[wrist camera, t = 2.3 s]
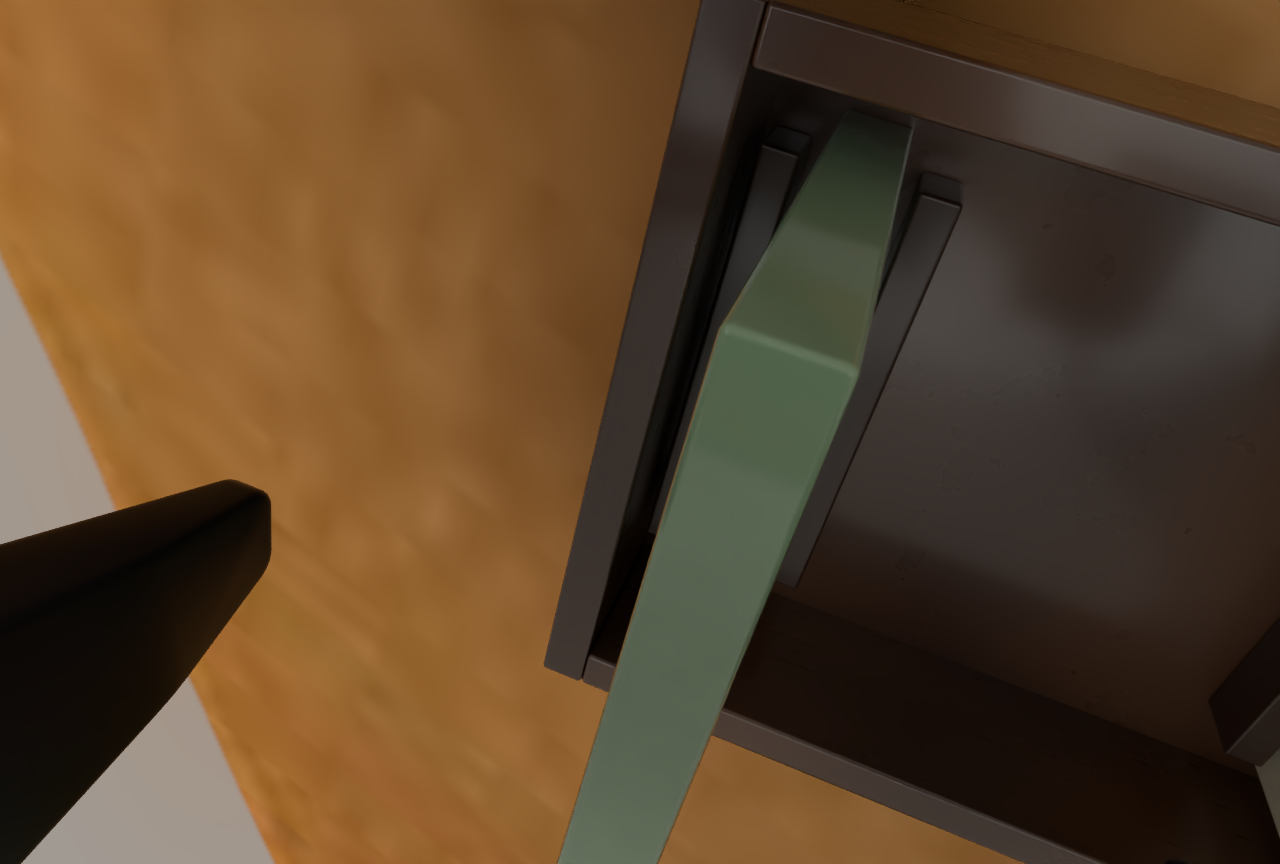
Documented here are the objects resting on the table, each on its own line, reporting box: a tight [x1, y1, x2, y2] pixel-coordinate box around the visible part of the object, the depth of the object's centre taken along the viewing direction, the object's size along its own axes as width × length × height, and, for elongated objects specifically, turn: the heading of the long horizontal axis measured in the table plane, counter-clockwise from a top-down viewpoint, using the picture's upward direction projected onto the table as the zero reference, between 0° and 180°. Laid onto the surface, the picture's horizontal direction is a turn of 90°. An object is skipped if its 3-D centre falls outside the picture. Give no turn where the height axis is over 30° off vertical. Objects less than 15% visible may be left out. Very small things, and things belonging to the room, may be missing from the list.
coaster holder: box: [544, 0, 1280, 864], centre depth 13 cm, size 14×11×4 cm
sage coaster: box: [557, 110, 913, 864], centre depth 11 cm, size 1×8×8 cm, turn 166°
